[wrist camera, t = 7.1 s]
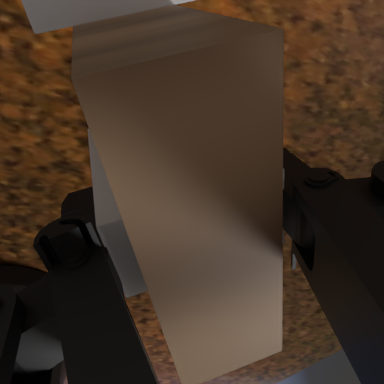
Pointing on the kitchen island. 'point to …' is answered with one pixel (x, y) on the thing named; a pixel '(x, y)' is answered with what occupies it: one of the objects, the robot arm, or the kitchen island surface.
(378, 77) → the kitchen island surface
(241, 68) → the bookend
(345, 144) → the kitchen island surface
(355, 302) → the robot arm
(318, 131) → the kitchen island surface
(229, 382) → the kitchen island surface
